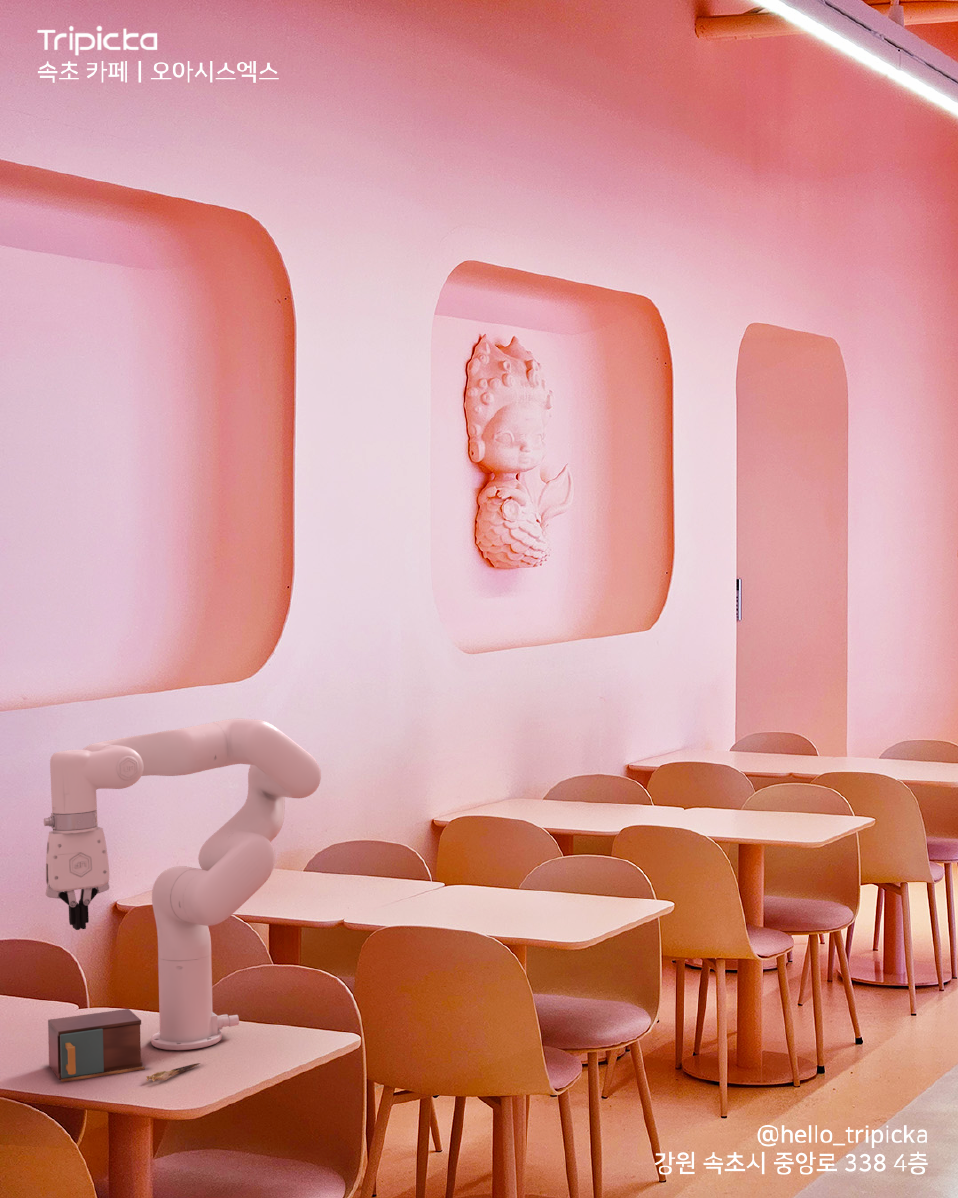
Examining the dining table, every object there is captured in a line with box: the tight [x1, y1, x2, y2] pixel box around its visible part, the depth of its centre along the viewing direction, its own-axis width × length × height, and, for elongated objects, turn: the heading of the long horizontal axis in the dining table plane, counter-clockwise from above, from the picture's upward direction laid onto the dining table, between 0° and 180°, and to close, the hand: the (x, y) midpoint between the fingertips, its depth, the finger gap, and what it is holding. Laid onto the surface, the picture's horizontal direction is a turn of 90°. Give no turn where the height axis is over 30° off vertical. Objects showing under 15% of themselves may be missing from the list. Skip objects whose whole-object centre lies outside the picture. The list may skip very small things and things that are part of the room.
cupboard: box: [47, 1008, 146, 1083], centre depth 263 cm, size 14×11×8 cm
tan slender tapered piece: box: [145, 1062, 201, 1082], centre depth 257 cm, size 12×3×1 cm, turn 144°
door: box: [60, 1029, 105, 1079], centre depth 256 cm, size 7×4×7 cm, turn 116°
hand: (79, 928), depth 264 cm, fingers closed
